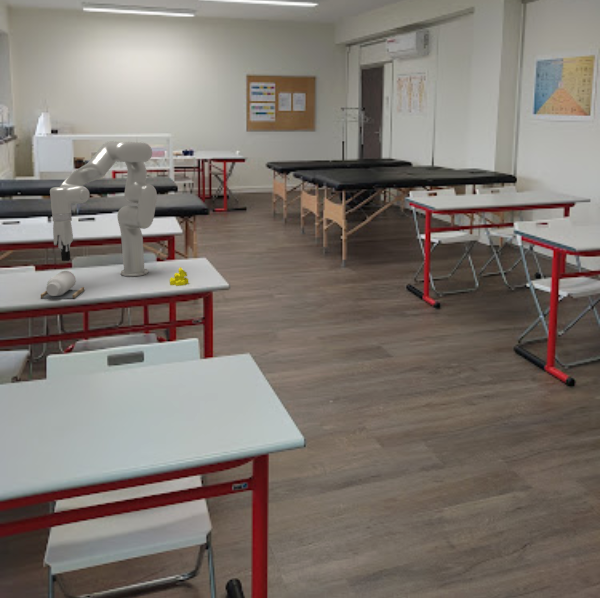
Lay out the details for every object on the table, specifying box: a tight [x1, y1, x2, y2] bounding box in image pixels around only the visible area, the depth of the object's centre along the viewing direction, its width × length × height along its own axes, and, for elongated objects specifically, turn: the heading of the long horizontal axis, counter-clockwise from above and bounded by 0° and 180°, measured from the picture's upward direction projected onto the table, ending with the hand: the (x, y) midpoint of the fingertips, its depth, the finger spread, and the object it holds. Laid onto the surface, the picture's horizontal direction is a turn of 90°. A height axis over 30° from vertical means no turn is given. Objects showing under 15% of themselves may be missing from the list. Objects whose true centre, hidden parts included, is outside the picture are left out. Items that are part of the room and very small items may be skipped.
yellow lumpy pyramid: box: [169, 266, 190, 287], centre depth 300 cm, size 6×8×8 cm
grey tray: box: [42, 289, 86, 300], centre depth 284 cm, size 12×14×1 cm
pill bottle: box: [45, 270, 77, 296], centre depth 283 cm, size 8×8×15 cm
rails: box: [40, 286, 86, 300], centre depth 284 cm, size 12×14×2 cm
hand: (66, 260), depth 287 cm, fingers closed
